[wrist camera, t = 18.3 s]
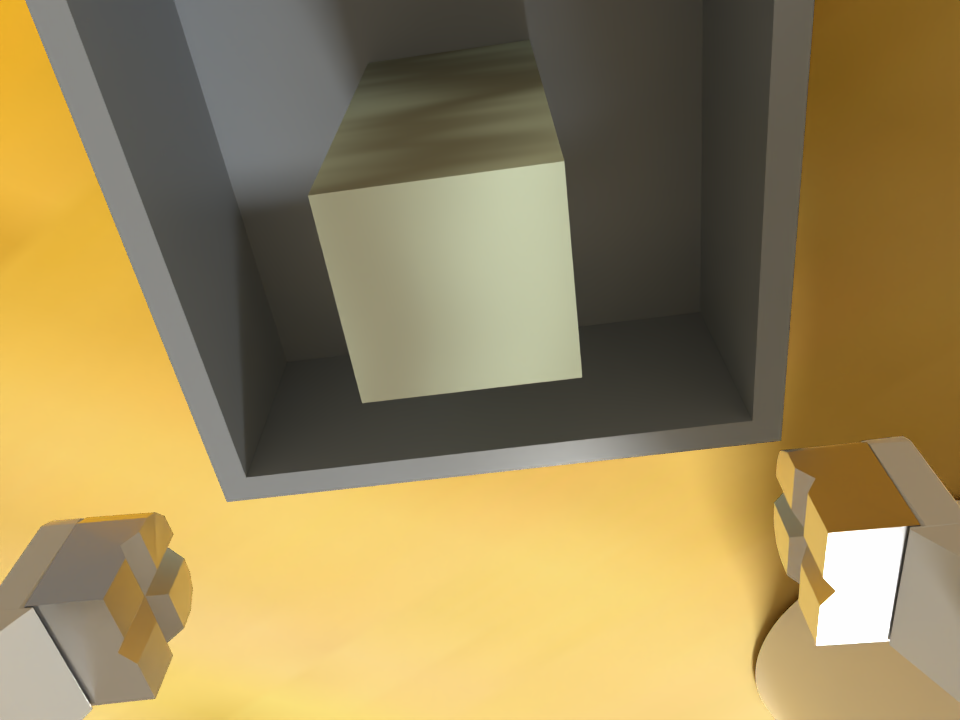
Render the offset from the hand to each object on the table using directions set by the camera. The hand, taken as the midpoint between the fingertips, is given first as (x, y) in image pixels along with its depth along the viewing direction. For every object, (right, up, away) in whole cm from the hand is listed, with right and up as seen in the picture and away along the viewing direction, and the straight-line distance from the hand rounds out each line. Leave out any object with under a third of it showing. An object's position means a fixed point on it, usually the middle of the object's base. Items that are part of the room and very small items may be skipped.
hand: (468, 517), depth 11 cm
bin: (0, +9, +14) cm, 17 cm away
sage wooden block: (0, +9, +13) cm, 16 cm away
